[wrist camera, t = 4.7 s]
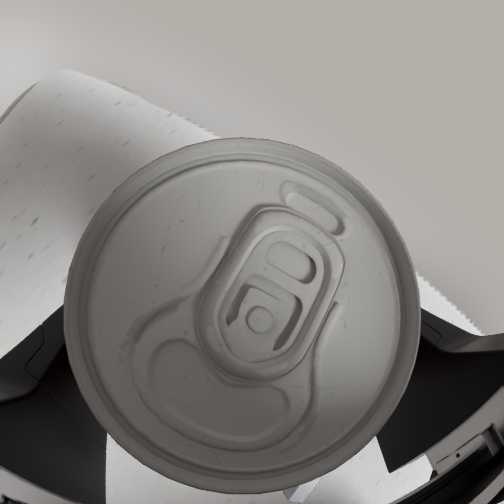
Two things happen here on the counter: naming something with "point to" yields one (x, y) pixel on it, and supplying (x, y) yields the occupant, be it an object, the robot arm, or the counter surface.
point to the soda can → (242, 316)
